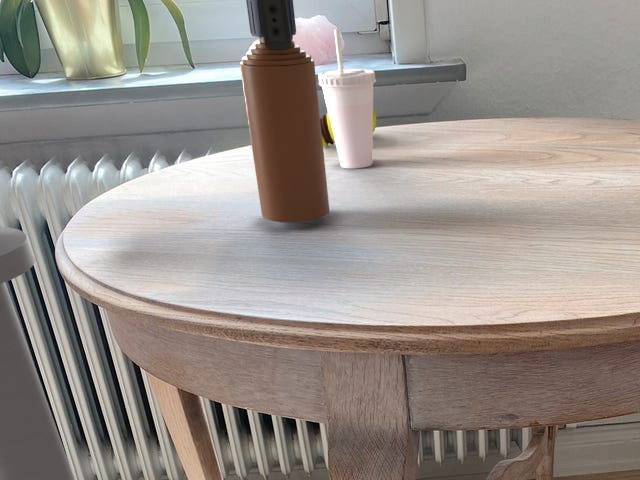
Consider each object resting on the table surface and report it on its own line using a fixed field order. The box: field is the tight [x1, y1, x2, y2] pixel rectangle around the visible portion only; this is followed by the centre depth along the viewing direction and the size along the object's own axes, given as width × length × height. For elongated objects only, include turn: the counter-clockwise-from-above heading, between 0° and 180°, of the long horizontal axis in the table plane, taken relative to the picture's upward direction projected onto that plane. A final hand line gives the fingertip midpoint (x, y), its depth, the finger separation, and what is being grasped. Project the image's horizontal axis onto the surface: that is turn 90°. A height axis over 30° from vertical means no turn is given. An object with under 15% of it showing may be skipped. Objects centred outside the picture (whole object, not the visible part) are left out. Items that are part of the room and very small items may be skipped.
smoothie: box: [317, 28, 377, 170], centre depth 99 cm, size 6×6×14 cm
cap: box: [245, 0, 297, 38], centre depth 75 cm, size 4×4×3 cm
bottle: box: [239, 37, 330, 224], centre depth 80 cm, size 6×6×18 cm
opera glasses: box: [320, 106, 377, 147], centre depth 114 cm, size 10×5×5 cm, turn 167°
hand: (280, 45), depth 77 cm, fingers closed on cap, 3 cm apart
